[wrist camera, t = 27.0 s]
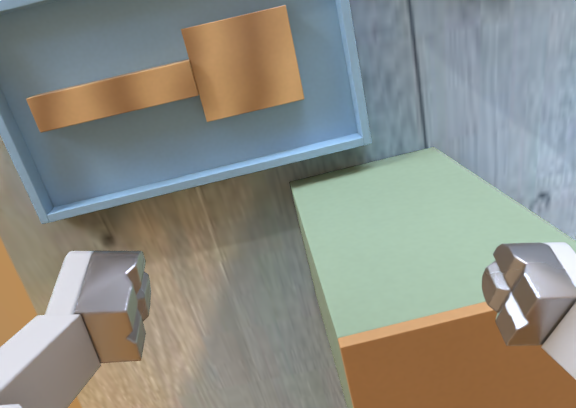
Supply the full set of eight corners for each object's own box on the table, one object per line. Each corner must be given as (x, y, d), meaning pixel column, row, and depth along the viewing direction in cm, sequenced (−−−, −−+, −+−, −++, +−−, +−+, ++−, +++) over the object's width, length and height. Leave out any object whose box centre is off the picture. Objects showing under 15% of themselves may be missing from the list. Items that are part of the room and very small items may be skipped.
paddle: (60, 153, 44) (51, 160, 42) (23, 65, 41) (12, 68, 39) (302, 96, 44) (305, 100, 42) (284, 5, 41) (286, 4, 39)
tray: (52, 213, 47) (41, 224, 44) (-38, 14, 40) (-57, 13, 37) (365, 136, 47) (372, 143, 44) (330, -75, 40) (336, -81, 37)
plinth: (316, 297, 53) (380, 528, 29) (289, 181, 48) (340, 347, 24) (446, 265, 53) (618, 469, 29) (433, 146, 48) (629, 276, 24)
